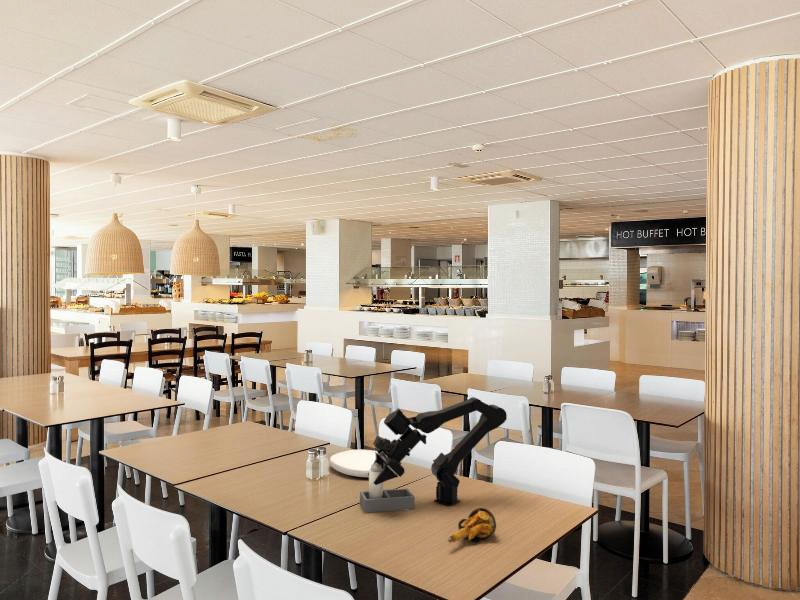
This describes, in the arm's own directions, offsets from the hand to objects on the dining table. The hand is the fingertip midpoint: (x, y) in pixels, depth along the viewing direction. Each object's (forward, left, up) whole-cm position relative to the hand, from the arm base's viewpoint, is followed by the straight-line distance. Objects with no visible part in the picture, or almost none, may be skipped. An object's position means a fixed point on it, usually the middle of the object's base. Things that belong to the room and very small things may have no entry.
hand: (371, 479), depth 198 cm
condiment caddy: (-3, -4, -9) cm, 11 cm away
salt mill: (-1, -1, -8) cm, 8 cm away
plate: (+30, -29, -9) cm, 43 cm away
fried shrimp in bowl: (-39, +1, -9) cm, 40 cm away
